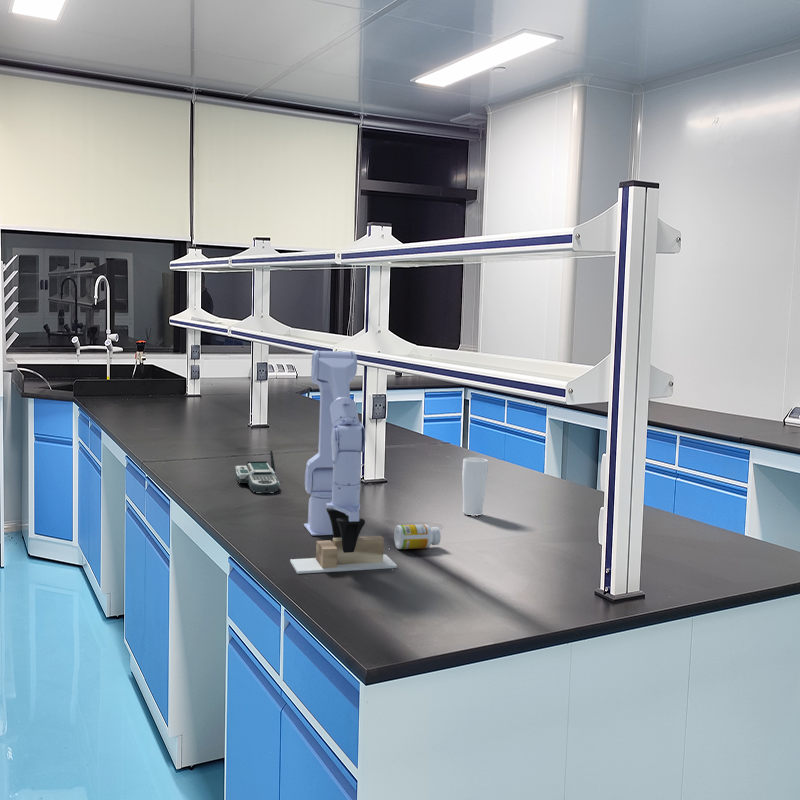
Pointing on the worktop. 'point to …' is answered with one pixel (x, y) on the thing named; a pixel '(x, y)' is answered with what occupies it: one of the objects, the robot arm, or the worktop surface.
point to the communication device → (258, 475)
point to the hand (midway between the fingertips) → (343, 546)
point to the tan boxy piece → (364, 552)
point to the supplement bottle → (416, 536)
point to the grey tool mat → (314, 567)
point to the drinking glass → (474, 484)
